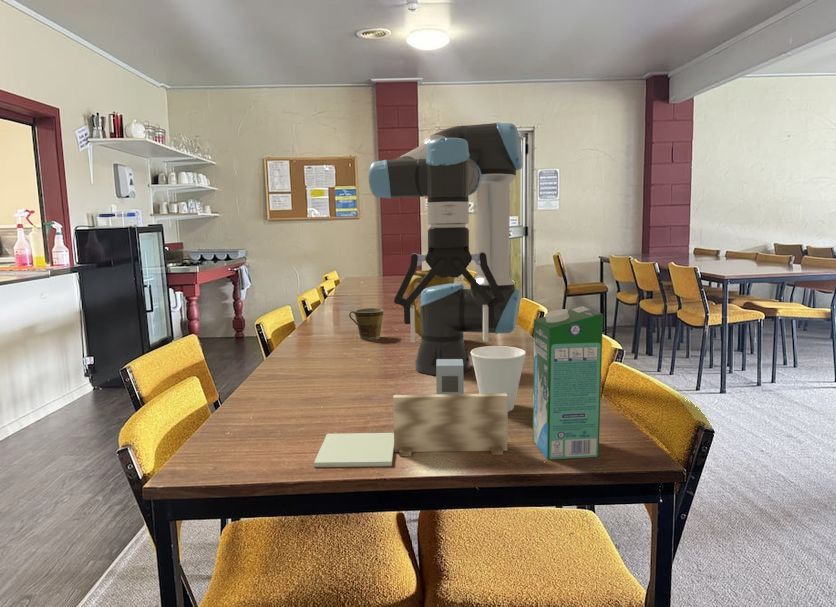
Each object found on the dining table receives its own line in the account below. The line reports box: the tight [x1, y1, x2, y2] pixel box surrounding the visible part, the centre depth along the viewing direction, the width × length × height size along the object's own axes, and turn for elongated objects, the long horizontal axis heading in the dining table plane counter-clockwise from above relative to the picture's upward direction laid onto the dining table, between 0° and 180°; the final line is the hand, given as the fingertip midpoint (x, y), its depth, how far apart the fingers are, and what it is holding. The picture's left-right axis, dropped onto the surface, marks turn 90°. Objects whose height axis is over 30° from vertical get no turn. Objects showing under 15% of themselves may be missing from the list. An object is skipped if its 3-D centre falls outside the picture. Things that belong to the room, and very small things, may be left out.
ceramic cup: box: [348, 307, 384, 341], centre depth 199 cm, size 13×10×10 cm
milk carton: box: [532, 305, 604, 460], centre depth 99 cm, size 9×9×25 cm
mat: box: [313, 432, 395, 468], centre depth 101 cm, size 13×13×1 cm
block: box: [435, 359, 465, 394], centre depth 108 cm, size 5×5×14 cm
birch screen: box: [392, 393, 509, 457], centre depth 101 cm, size 20×5×10 cm, turn 89°
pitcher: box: [405, 268, 455, 337], centre depth 188 cm, size 17×19×25 cm
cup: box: [470, 345, 527, 412], centre depth 123 cm, size 12×12×12 cm
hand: (449, 340), depth 106 cm, fingers open, 13 cm apart
